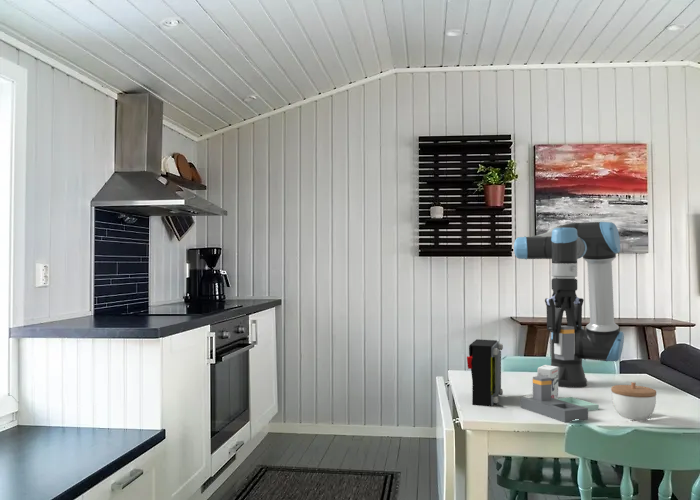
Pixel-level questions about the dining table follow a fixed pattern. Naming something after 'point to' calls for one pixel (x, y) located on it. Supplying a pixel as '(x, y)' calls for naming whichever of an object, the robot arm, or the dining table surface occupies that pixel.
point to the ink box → (551, 373)
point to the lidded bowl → (633, 401)
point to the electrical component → (485, 371)
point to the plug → (567, 343)
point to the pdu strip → (551, 403)
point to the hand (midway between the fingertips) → (564, 353)
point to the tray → (580, 403)
